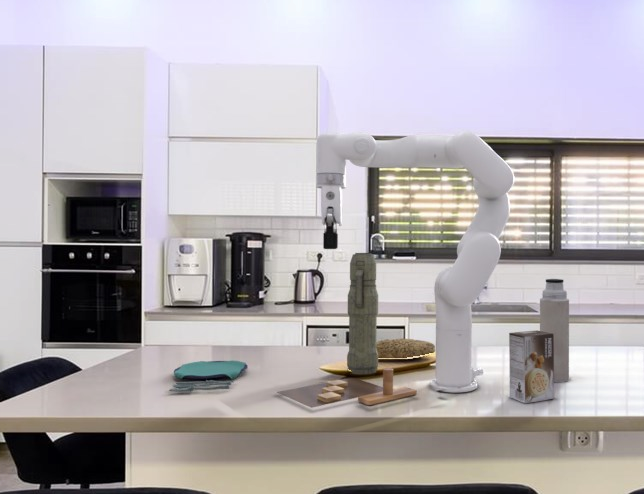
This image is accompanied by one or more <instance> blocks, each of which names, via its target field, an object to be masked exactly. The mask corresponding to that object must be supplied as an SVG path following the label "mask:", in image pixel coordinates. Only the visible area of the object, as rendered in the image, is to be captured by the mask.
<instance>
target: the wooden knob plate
mask: <svg viewBox="0 0 644 494" xmlns="http://www.w3.org/2000/svg"><path fill="white" fill-rule="evenodd" d="M382 387H383V392H378V393H374V394H369V395H365V396H360V397H357V402H358V403H360V404H363V405H365V406H368V407H372V406H375V405H380V404H386V403H389V402H392V401H397V400H401V399H405V398H409V397H414V396H416V395H417V394H418V391H417V389H415V388H411V387H409V386H401V387H398V388H394V368H393V367H384V368H382Z"/></svg>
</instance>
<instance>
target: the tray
mask: <svg viewBox="0 0 644 494" xmlns="http://www.w3.org/2000/svg"><path fill="white" fill-rule="evenodd" d="M341 380H342V381H345V382H347V383H348V386H346V387H341V388H344V393H340V394H339V395H341V400H336V401H331V402H327V403H326V402H324V401H321V400H319V399H317V395H319V394H324V393H323V392H322V388H325V387H328V386H326V382H321V383H315V384H312V385H311V384H310V385H305V386H302V387H301V386H300V387H294V388H290V389H285V390H280V391H276V393H277V394H280V395H282V396H284V397H285V398H289V399H291V400H293V401H295V402H298V403H300V404H302V405H305V406H307V407H309V408H312V409H313V408H317V407H322V406H326V405H330V404H334V403H339V402H344V401H348V400H352V399H358V397H360V396H365V395H369V394H374V393H378V392H383V386H382V385H381V386H380V385H378V384H375V383H371V382H368V381H365V380H362V379H359V378H356V377H353V376H352V377H348V378H343V379H342V378H341Z"/></svg>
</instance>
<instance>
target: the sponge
mask: <svg viewBox="0 0 644 494" xmlns="http://www.w3.org/2000/svg"><path fill="white" fill-rule="evenodd" d="M376 349H377V352H378V358H407V357H413V356H420V355H425V354H429V353H433V354H434V353H436V345H435V344H434V343H432V342H430V341H426V340H421V339H420V340H419V339H413V338H404V337H403V338H395V339H387V338H386V339H383V340H378V341H376ZM378 361H409V360H408V359H378Z"/></svg>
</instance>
